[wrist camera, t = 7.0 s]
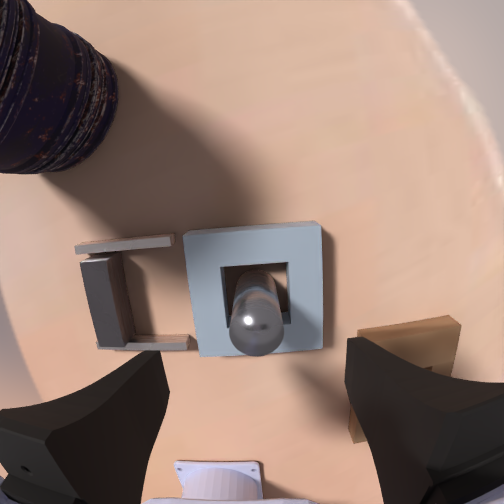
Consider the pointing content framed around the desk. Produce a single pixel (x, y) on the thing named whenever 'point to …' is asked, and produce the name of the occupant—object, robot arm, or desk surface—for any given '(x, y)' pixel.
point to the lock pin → (256, 315)
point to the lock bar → (108, 299)
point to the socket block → (247, 253)
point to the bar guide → (128, 244)
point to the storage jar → (50, 93)
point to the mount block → (414, 350)
